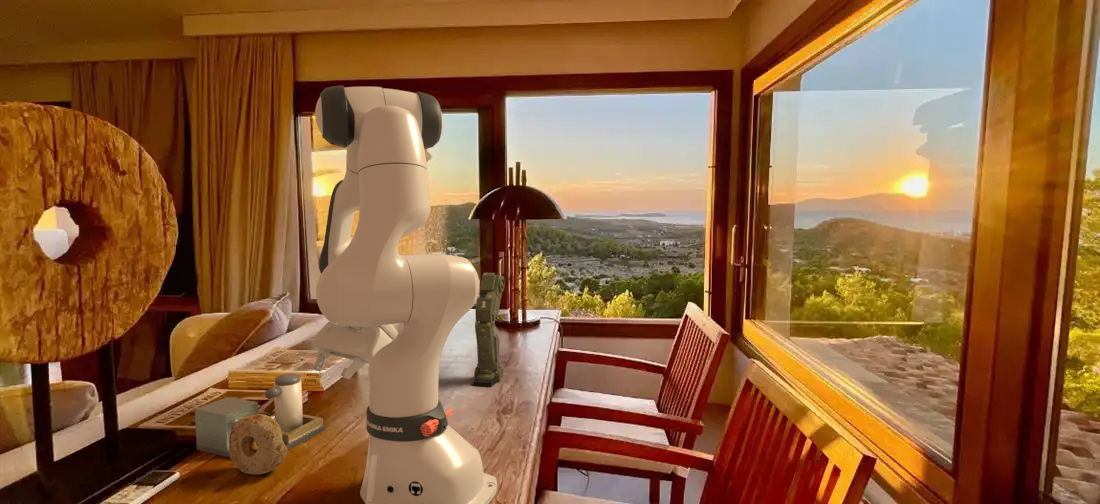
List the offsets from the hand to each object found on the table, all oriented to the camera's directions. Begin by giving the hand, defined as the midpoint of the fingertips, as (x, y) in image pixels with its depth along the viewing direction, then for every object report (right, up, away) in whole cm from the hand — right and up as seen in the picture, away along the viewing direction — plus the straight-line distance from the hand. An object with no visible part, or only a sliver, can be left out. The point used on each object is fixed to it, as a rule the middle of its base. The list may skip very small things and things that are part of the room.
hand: (330, 373), depth 118 cm
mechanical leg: (+32, -8, +28) cm, 43 cm away
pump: (-5, -10, -9) cm, 14 cm away
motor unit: (-9, -11, -10) cm, 18 cm away
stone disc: (-3, -12, -23) cm, 26 cm away
